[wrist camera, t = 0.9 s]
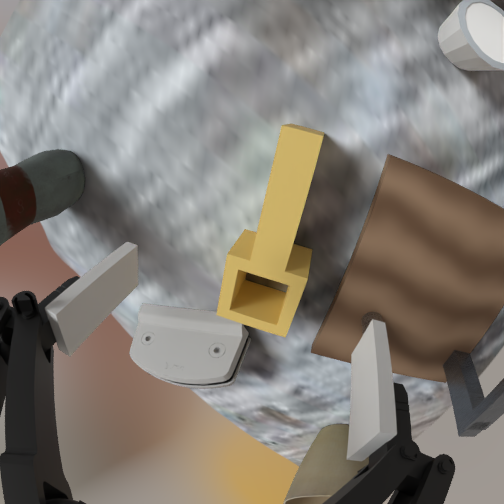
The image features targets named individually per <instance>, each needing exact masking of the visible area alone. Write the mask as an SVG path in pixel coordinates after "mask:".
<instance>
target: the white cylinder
mask: <svg viewBox="0 0 504 504" xmlns="http://www.w3.org/2000/svg"><path fill="white" fill-rule="evenodd" d="M438 41H439V46H440V48H441V50H442V52H443V54H444V55H445V56H446V57H447V58H448V60H449V61H450V62H451V63H452V64H454V65H455V66H457V67H458V68H460V69H463V70H467V71H504V11H503V10H502V9H501V8H499V7H498V6H497V5H495V4H494V3H493V2H491V1H490V0H463V1H462V2H460V3H459V5H458V6H457V7H456V8H455V9H454V11H453V12H452V13H451V14H450V15H449V17H448V18H447V19H446V20H445V21H444V22H443V24H442V25H441V26H440V28H439V31H438Z"/></svg>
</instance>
